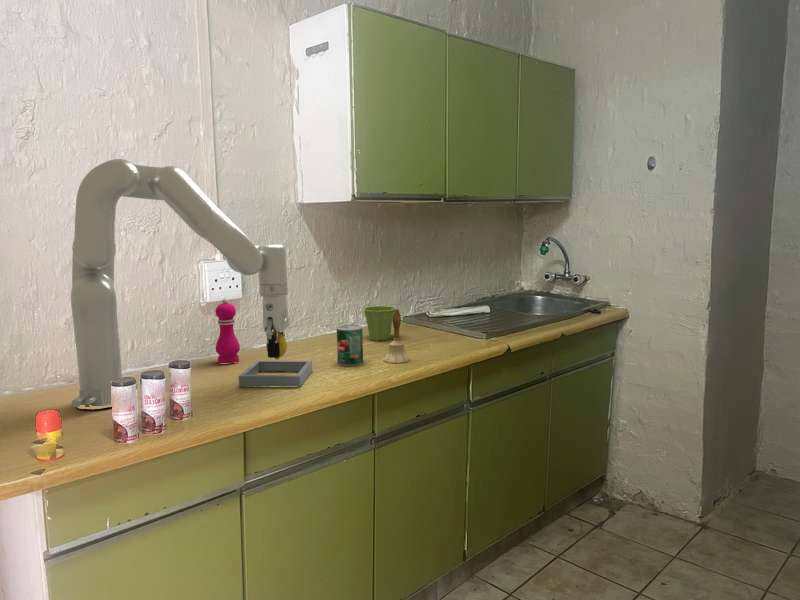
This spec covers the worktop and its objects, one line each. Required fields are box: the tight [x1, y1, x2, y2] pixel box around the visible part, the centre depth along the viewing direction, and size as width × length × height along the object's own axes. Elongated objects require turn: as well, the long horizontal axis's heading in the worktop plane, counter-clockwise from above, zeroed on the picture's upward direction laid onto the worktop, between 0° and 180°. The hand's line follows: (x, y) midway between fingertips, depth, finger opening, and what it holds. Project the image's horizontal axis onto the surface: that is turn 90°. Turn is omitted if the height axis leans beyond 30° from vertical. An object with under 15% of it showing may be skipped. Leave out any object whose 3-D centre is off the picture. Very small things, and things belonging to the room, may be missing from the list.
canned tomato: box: [336, 324, 364, 367], centre depth 187 cm, size 8×8×11 cm
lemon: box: [265, 333, 288, 361], centre depth 170 cm, size 6×6×8 cm
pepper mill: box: [215, 297, 241, 364], centre depth 189 cm, size 7×7×20 cm
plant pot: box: [362, 305, 397, 342], centre depth 219 cm, size 12×12×11 cm
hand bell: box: [383, 308, 411, 364], centre depth 189 cm, size 8×8×16 cm
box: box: [238, 360, 313, 387], centre depth 171 cm, size 16×16×3 cm
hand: (276, 353), depth 170 cm, fingers closed on lemon, 5 cm apart
